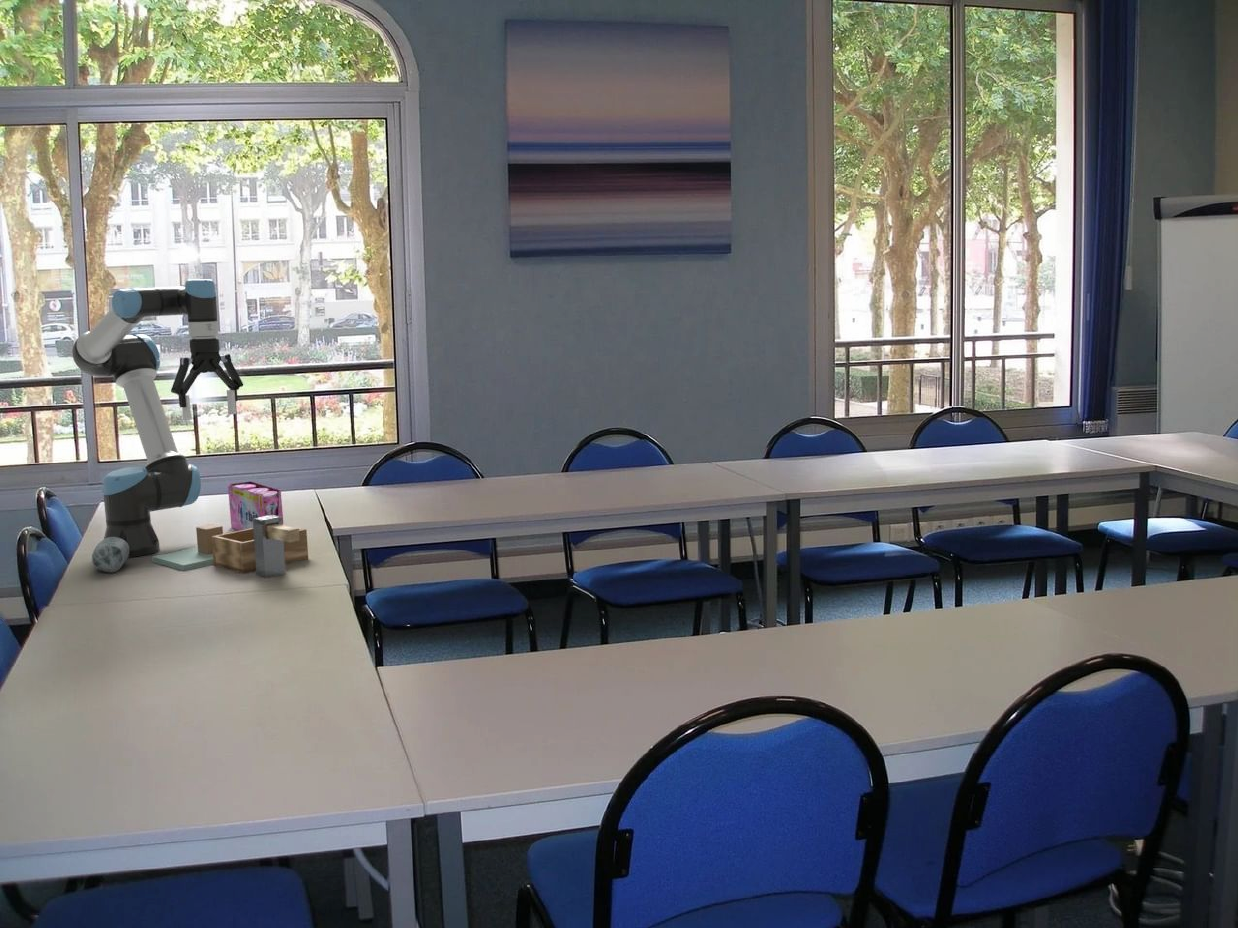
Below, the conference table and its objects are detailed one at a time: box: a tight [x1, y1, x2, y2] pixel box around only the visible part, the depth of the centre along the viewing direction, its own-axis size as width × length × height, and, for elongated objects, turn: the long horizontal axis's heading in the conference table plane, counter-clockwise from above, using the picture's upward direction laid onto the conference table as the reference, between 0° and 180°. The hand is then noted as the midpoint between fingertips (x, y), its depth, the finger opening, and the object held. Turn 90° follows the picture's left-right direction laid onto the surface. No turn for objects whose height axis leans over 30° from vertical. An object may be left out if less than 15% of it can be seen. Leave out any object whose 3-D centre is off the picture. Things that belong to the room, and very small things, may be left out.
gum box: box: [227, 480, 285, 531], centre depth 369 cm, size 24×8×14 cm, turn 39°
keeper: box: [253, 515, 286, 579], centre depth 317 cm, size 4×6×15 cm, turn 140°
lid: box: [151, 523, 224, 571], centre depth 337 cm, size 16×22×9 cm
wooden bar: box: [265, 523, 300, 542], centre depth 314 cm, size 15×3×3 cm, turn 50°
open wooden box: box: [212, 524, 309, 574], centre depth 332 cm, size 14×20×8 cm
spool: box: [91, 537, 130, 573], centre depth 328 cm, size 14×10×10 cm
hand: (210, 416), depth 333 cm, fingers open, 13 cm apart
